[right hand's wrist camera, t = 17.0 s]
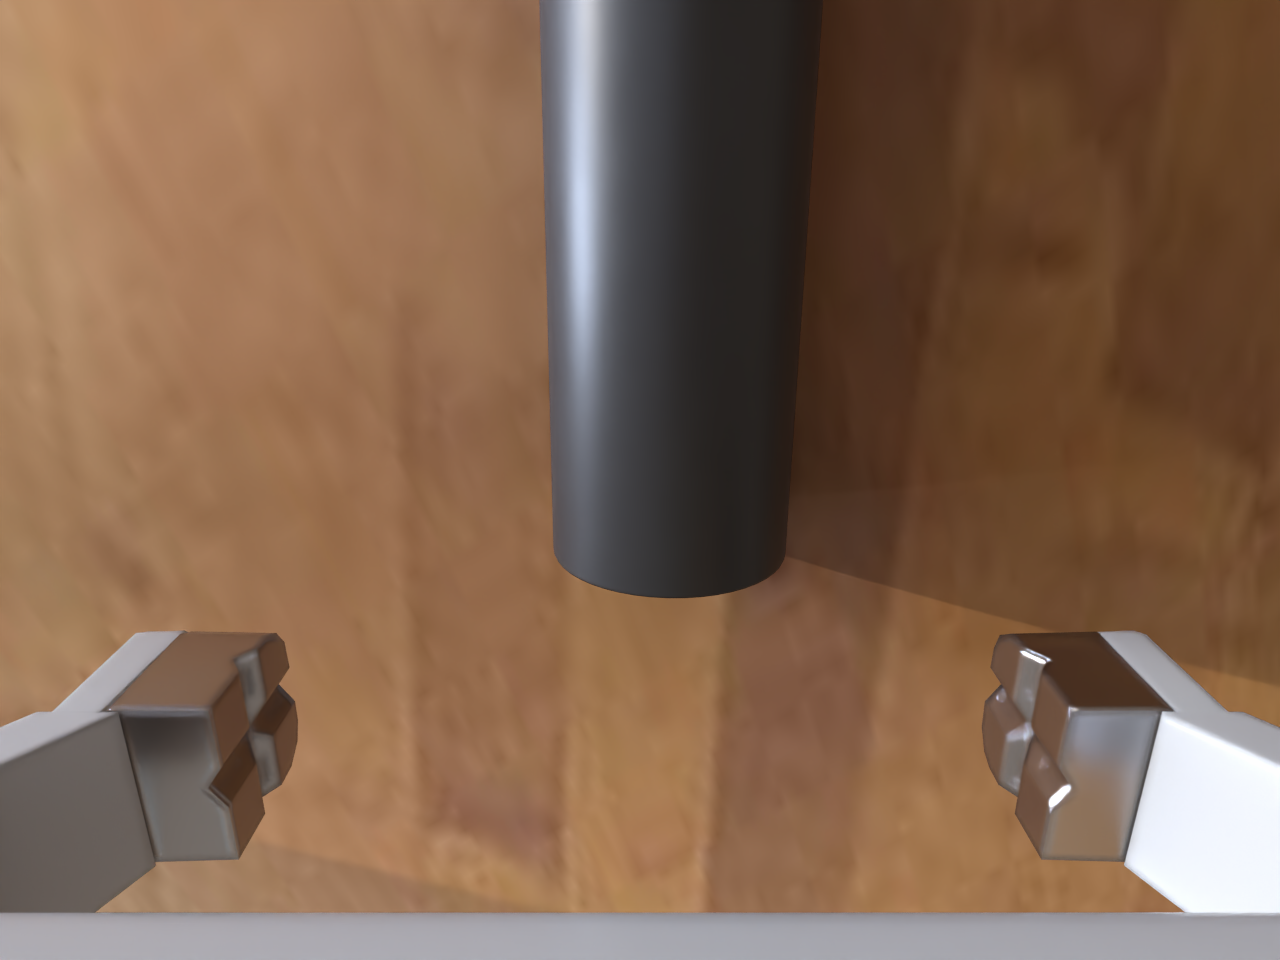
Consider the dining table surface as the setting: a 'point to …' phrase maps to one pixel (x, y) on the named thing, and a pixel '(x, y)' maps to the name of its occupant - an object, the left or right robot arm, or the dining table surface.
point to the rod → (675, 283)
